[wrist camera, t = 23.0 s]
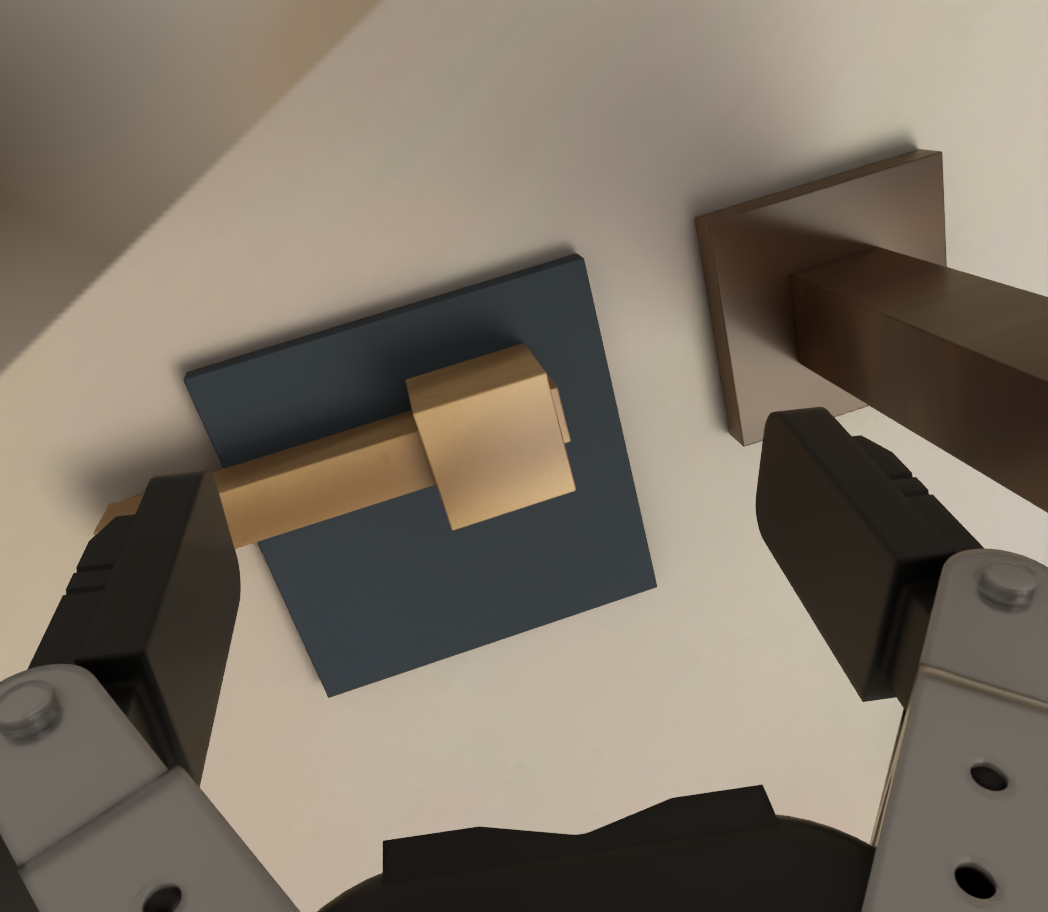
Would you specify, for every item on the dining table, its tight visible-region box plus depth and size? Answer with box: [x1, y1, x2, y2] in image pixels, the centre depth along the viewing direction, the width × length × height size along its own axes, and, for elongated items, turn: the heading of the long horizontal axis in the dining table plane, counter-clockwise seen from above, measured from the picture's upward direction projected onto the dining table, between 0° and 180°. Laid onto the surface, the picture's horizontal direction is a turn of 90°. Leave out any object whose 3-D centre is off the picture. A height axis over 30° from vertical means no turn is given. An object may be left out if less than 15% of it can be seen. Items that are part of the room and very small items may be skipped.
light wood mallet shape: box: [94, 343, 576, 549], centre depth 33 cm, size 5×18×4 cm, turn 104°
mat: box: [184, 254, 657, 697], centre depth 37 cm, size 16×16×1 cm
